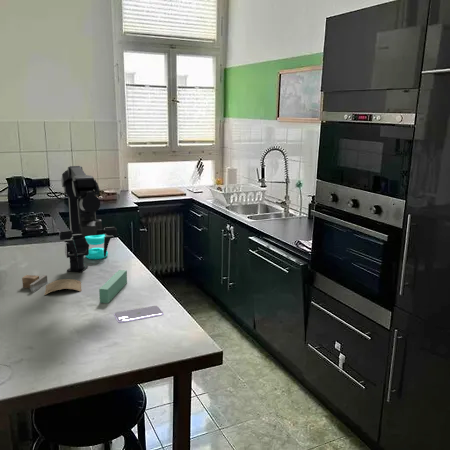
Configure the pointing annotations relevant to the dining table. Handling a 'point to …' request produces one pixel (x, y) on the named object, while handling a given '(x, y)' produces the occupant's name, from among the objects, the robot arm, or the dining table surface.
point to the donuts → (95, 252)
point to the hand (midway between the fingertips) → (91, 258)
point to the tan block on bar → (34, 282)
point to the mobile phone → (138, 314)
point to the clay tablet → (63, 285)
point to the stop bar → (113, 286)
